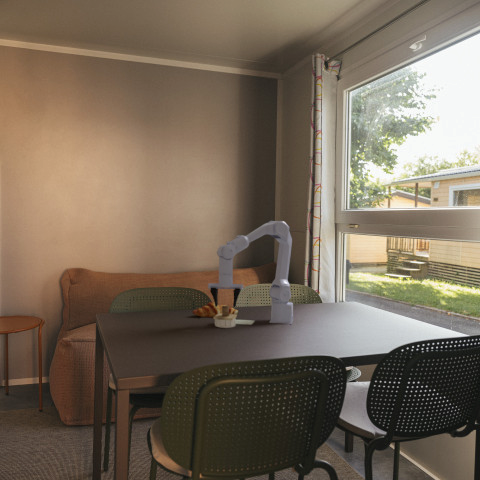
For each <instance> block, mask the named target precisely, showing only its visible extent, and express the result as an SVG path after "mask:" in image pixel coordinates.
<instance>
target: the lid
mask: <svg viewBox="0 0 480 480" xmlns="http://www.w3.org/2000/svg"><path fill="white" fill-rule="evenodd" d="M229 307H230V306H229V305H226V306H222V314H220V313H219V314H217V315H216V316H214V317H212V318H213V320H215V319H219V320H233V319H235V318H237V317H238V313H237V314H229Z"/></svg>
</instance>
